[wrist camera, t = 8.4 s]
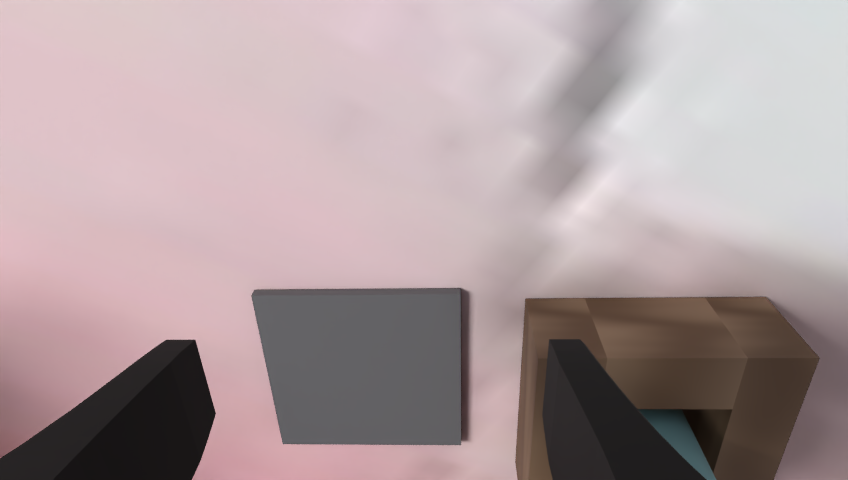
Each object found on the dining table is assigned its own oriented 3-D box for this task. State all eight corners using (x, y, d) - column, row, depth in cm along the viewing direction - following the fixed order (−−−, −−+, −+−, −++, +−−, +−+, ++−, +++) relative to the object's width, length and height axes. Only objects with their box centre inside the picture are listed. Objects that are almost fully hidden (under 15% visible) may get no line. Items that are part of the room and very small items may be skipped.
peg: (588, 412, 24) (656, 640, 17) (596, 358, 23) (673, 579, 15) (659, 412, 24) (761, 642, 16) (671, 357, 23) (790, 581, 15)
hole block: (515, 461, 26) (524, 532, 23) (525, 298, 22) (538, 358, 19) (716, 463, 26) (752, 535, 23) (765, 297, 21) (819, 357, 18)
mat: (285, 437, 26) (282, 444, 26) (254, 289, 22) (251, 295, 22) (460, 438, 25) (461, 444, 25) (460, 288, 22) (460, 293, 21)
